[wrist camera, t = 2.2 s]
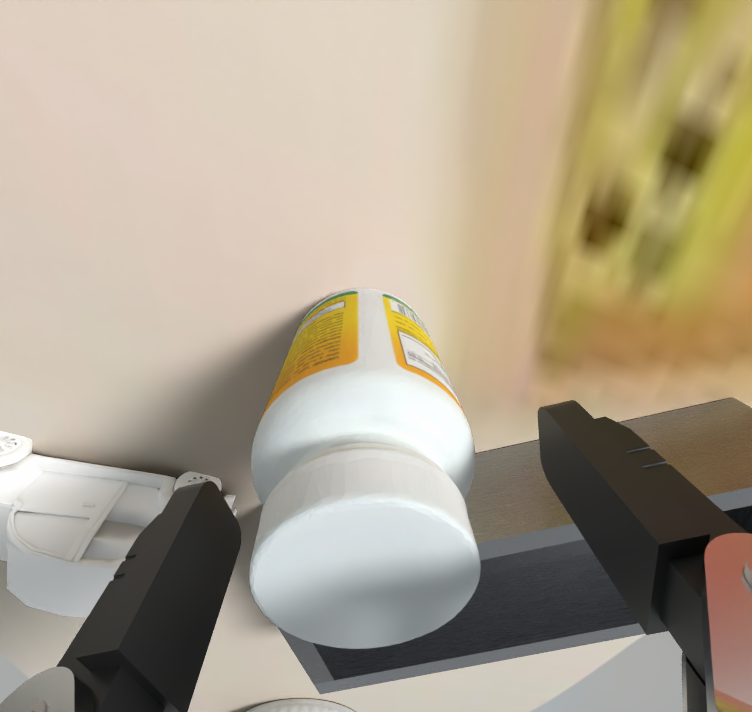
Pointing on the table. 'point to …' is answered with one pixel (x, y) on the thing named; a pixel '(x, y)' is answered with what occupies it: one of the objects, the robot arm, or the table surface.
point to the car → (73, 523)
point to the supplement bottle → (363, 481)
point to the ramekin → (300, 706)
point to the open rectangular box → (546, 556)
